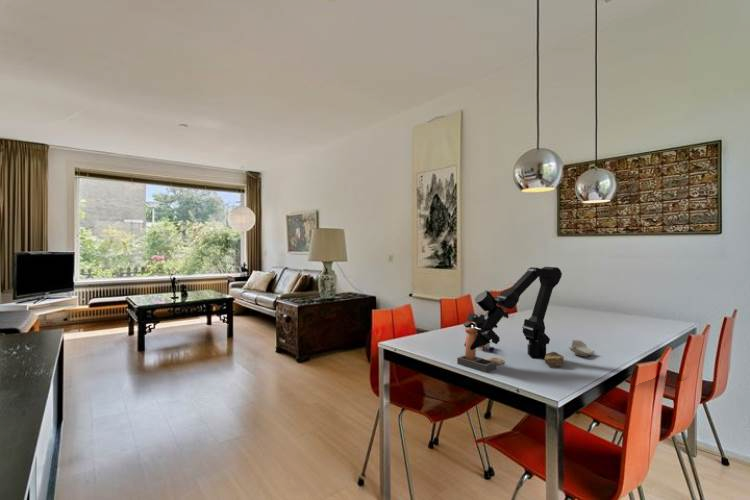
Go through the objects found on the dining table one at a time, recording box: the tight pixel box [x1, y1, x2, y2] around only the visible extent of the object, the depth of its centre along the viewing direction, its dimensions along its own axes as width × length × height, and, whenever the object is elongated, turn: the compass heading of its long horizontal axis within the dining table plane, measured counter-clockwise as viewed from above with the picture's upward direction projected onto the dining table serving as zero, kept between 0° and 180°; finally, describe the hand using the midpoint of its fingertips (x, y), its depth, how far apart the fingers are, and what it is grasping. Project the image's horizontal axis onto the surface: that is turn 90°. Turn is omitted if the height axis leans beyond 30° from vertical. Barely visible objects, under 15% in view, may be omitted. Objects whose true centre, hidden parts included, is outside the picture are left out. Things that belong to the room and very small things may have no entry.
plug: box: [464, 327, 478, 361], centre depth 147 cm, size 5×5×14 cm
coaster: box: [484, 357, 505, 366], centre depth 150 cm, size 8×8×1 cm
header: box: [456, 354, 497, 373], centre depth 144 cm, size 7×13×2 cm, turn 39°
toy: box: [477, 343, 495, 352], centre depth 168 cm, size 12×7×14 cm
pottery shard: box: [568, 339, 595, 357], centre depth 158 cm, size 10×11×5 cm
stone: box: [544, 351, 565, 368], centre depth 147 cm, size 14×7×5 cm, turn 164°
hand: (467, 347), depth 146 cm, fingers closed on plug, 4 cm apart
